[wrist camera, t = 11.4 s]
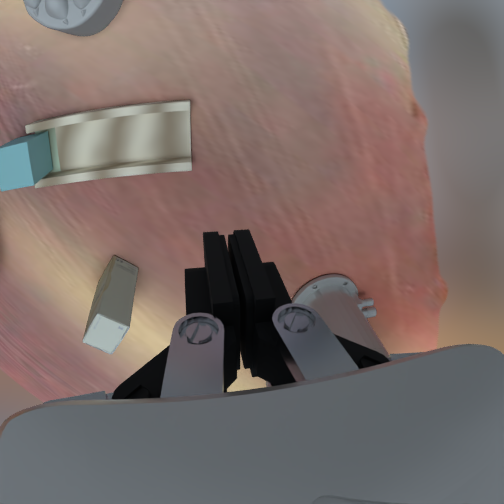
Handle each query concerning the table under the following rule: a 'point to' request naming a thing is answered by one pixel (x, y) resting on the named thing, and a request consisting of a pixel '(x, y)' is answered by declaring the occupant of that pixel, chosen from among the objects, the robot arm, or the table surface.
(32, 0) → the lumpy-topped squat cylinder
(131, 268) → the skincare box
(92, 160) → the twin rail frame
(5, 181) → the block
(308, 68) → the table surface
